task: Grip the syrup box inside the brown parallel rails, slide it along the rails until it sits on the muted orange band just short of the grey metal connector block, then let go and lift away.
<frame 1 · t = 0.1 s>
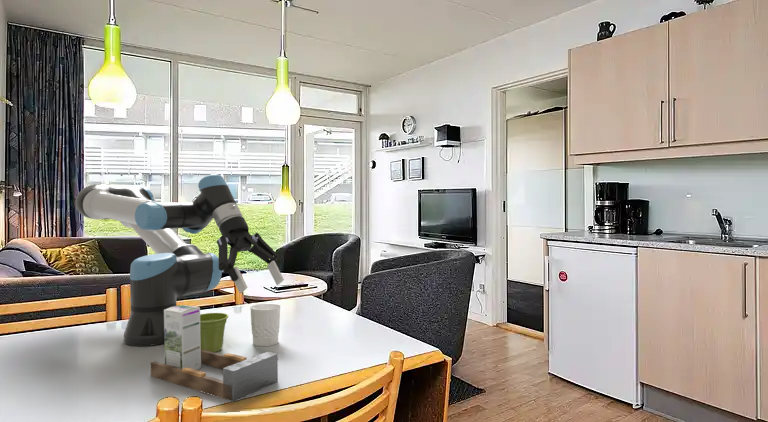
hand: (262, 286, 131), 15 cm above the table, tool tilted 35°, fingers open, 13 cm apart
white cup: (265, 343, 131), on the table
plant pot: (209, 350, 124), on the table
brown parallel rails: (212, 378, 105), on the table
connector block: (251, 389, 98), on the table
syrup box: (183, 371, 110), on the table
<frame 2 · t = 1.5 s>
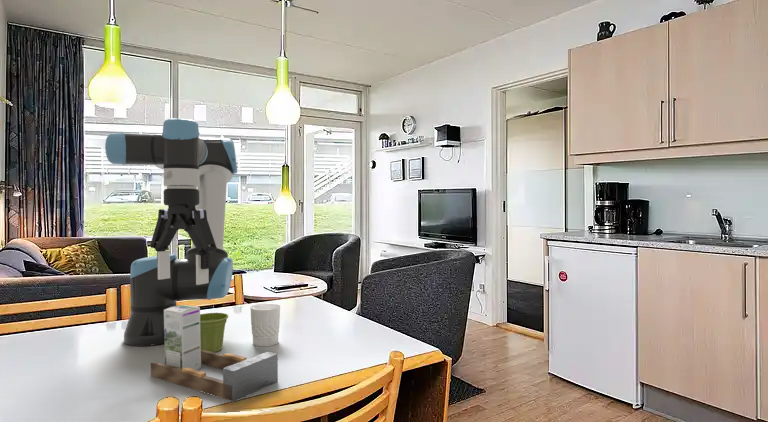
hand: (182, 281, 109), 20 cm above the table, tool pointing down, fingers open, 13 cm apart
nothing on the table moved.
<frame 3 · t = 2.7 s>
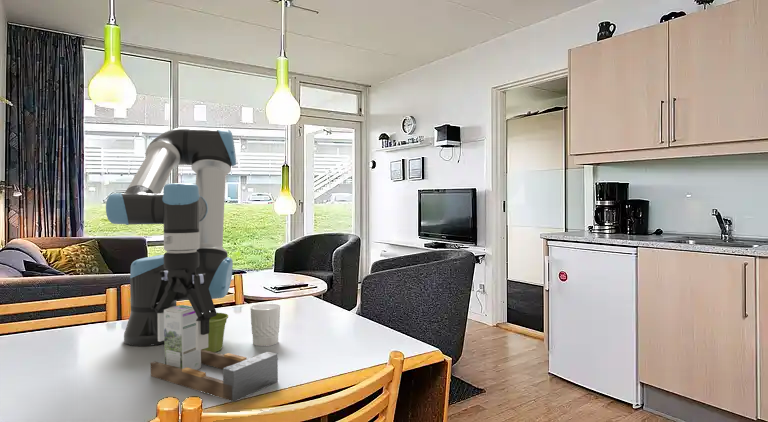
hand: (182, 344, 109), 6 cm above the table, tool pointing down, fingers open, 13 cm apart
nothing on the table moved.
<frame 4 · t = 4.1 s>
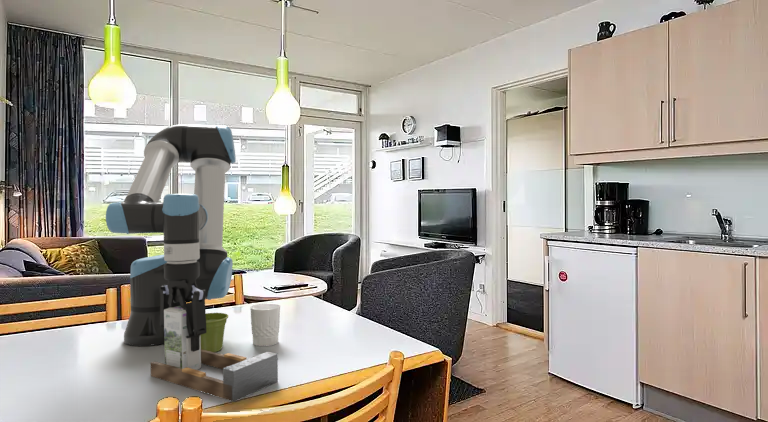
hand: (183, 361, 110), 2 cm above the table, tool pointing down, fingers closed on syrup box, 6 cm apart
syrup box: (183, 371, 110), on the table, touching gripper
everything else where it was.
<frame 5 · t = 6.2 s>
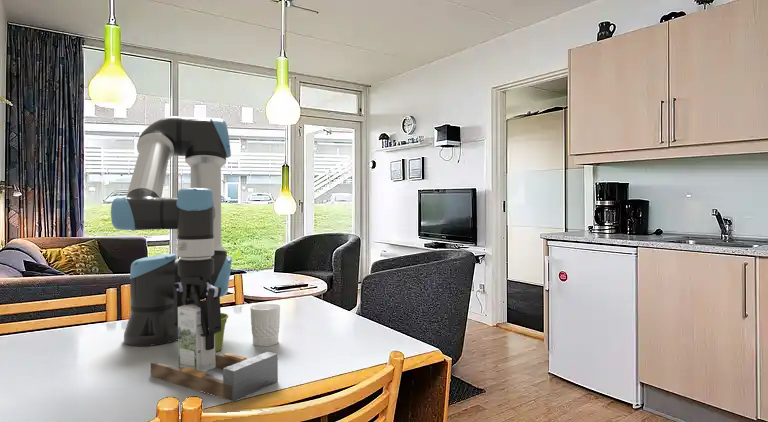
hand: (197, 361, 107), 3 cm above the table, tool pointing down, fingers closed on syrup box, 6 cm apart
syrup box: (197, 370, 107), point 1 cm above the table, touching gripper
everything else where it was.
when the fingers open (3 cm above the table, at t = 8.2 s): syrup box stays where it is, on the table.
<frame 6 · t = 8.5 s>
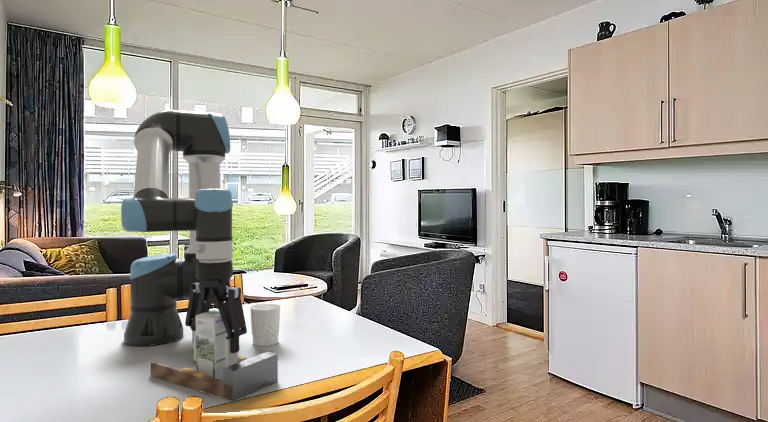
hand: (215, 363, 104), 4 cm above the table, tool pointing down, fingers open, 9 cm apart
syrup box: (215, 380, 104), on the table
everything else where it was.
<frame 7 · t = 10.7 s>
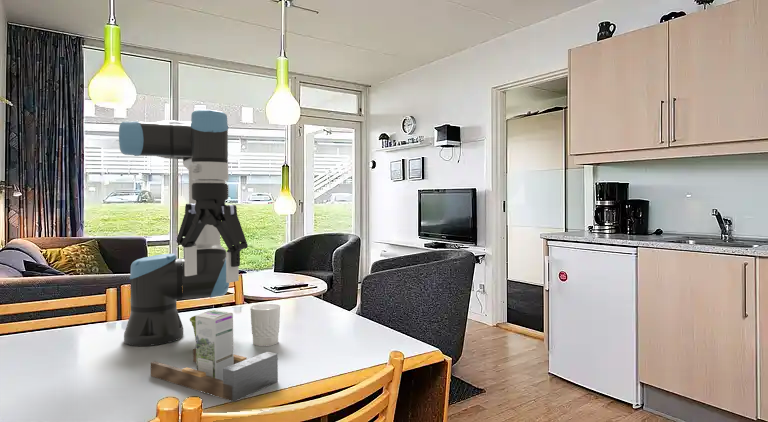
hand: (211, 278, 106), 22 cm above the table, tool pointing down, fingers open, 13 cm apart
nothing on the table moved.
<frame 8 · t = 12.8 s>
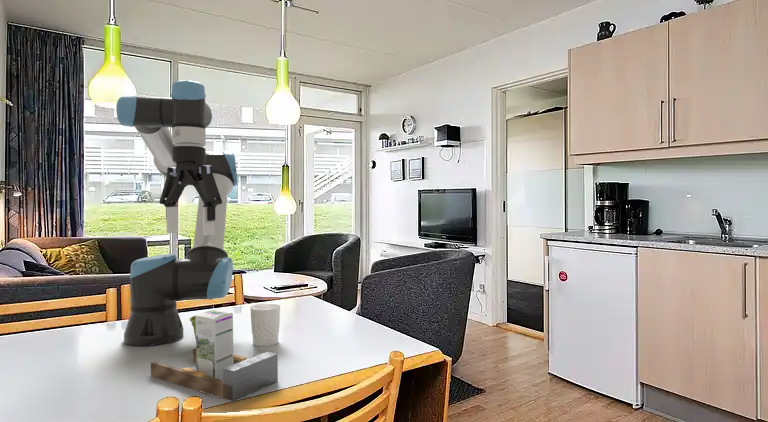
hand: (190, 234, 117), 31 cm above the table, tool pointing down, fingers open, 13 cm apart
nothing on the table moved.
at the end: syrup box 0.6 cm from the target spot, on the table; syrup box tilted 0°; the gripper is holding nothing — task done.
